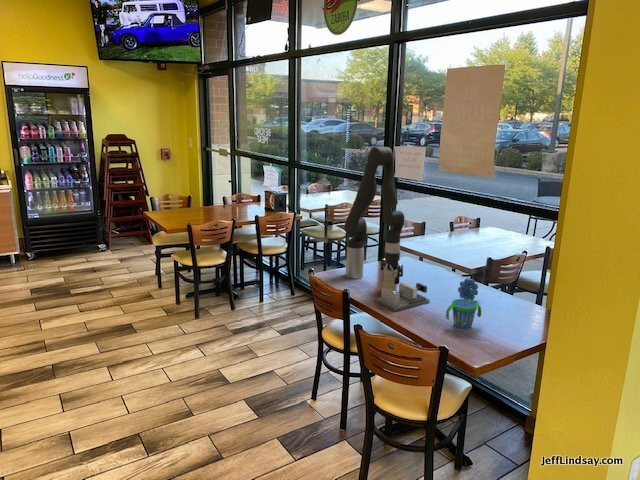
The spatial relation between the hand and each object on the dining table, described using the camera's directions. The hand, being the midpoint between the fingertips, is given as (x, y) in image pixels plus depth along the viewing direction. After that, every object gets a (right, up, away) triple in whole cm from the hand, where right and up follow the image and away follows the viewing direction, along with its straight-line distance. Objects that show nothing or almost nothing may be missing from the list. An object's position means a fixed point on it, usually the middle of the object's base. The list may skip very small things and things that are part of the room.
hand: (391, 281), depth 243 cm
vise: (+4, -9, -10) cm, 14 cm away
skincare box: (0, -6, +2) cm, 6 cm away
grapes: (+36, -9, -9) cm, 38 cm away
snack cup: (+26, -16, -35) cm, 46 cm away
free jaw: (+10, -6, -7) cm, 14 cm away
